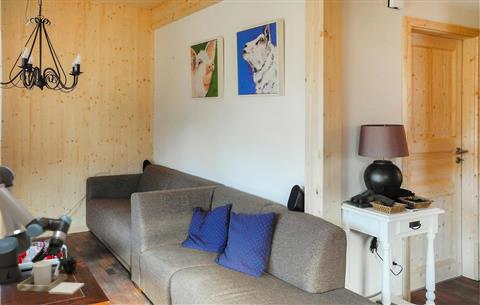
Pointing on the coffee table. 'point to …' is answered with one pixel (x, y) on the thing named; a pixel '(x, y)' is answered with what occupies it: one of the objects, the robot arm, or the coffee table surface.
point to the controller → (69, 265)
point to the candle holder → (42, 272)
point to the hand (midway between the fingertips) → (44, 275)
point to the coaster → (66, 288)
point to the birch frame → (43, 288)
